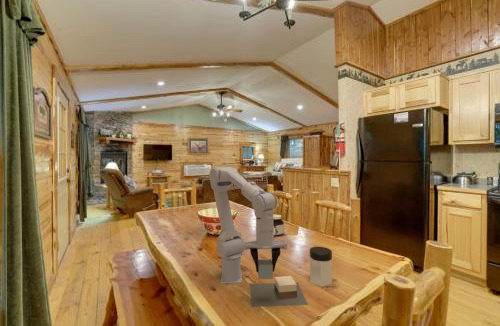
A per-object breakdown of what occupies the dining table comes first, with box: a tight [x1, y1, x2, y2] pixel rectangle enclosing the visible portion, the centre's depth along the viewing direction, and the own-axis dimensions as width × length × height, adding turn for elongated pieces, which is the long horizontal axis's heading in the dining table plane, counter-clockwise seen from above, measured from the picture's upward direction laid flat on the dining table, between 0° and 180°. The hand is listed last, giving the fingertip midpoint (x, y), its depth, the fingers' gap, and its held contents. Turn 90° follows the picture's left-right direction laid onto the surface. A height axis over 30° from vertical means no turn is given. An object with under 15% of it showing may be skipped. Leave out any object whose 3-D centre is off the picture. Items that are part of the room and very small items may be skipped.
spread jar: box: [273, 214, 285, 237], centre depth 150 cm, size 12×11×12 cm
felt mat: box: [249, 281, 309, 308], centre depth 85 cm, size 14×18×1 cm
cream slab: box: [274, 275, 297, 292], centre depth 86 cm, size 6×6×2 cm
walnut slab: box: [274, 284, 297, 299], centre depth 86 cm, size 6×6×2 cm
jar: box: [309, 246, 333, 288], centre depth 94 cm, size 9×8×12 cm
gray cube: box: [257, 258, 274, 280], centre depth 82 cm, size 4×4×4 cm
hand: (265, 270), depth 82 cm, fingers closed on gray cube, 4 cm apart
